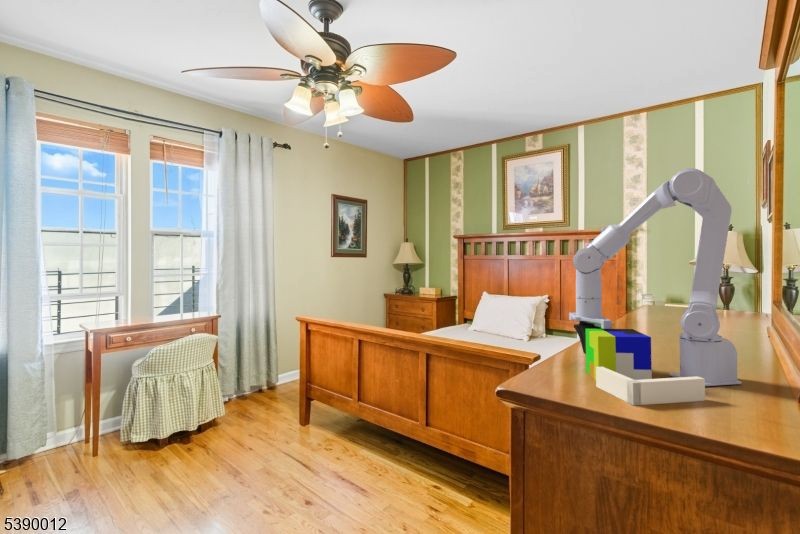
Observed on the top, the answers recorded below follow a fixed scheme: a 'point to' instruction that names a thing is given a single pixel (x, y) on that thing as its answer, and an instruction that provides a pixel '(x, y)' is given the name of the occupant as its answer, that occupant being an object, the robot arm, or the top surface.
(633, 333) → the puzzle toy
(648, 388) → the corner walls
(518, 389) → the top surface
